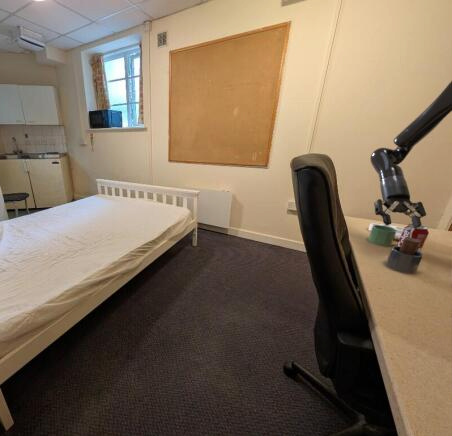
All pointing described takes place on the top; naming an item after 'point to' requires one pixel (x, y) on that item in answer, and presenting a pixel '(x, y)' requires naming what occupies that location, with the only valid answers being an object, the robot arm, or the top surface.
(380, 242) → the green cup
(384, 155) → the robot arm
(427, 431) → the top surface
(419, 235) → the soda can
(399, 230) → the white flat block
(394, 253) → the charcoal cup
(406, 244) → the pestle
